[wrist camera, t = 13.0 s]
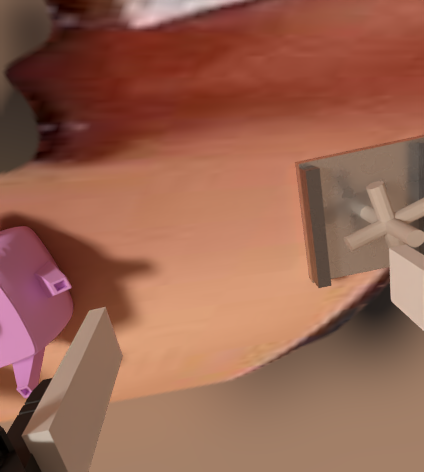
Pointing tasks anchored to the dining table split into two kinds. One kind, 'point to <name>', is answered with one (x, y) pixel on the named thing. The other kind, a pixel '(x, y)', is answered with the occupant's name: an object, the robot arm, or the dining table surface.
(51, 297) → the teakettle
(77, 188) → the dining table surface
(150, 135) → the dining table surface
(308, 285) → the dining table surface
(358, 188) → the cradle plate
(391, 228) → the pipe connector
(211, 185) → the dining table surface
